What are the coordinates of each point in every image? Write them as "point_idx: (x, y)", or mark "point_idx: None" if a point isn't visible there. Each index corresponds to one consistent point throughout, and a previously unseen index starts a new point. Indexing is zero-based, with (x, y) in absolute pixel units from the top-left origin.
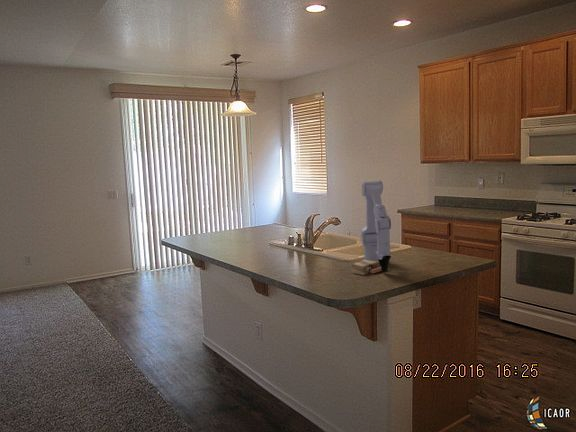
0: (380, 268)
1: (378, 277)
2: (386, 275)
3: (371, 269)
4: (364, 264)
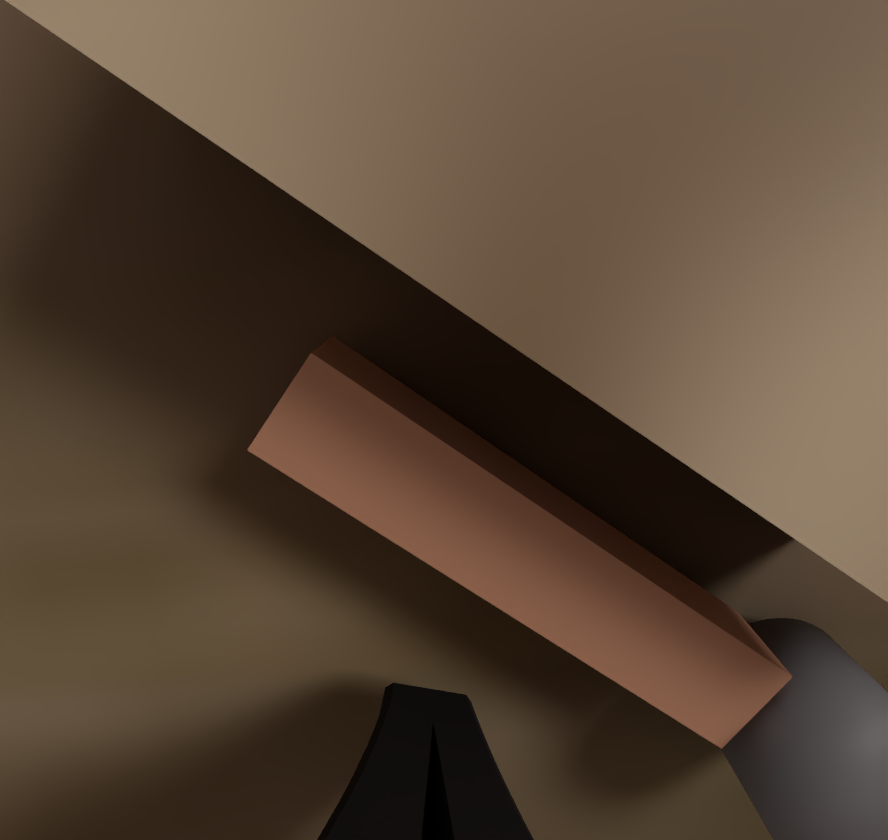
0: (585, 655)
1: (25, 573)
2: (260, 734)
3: (351, 391)
4: (407, 11)
